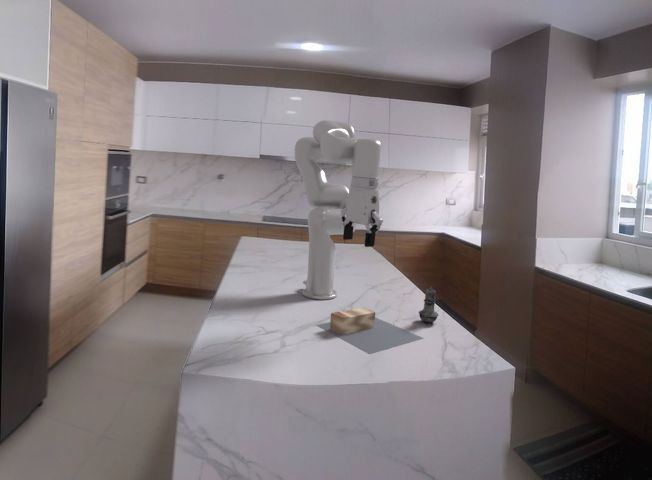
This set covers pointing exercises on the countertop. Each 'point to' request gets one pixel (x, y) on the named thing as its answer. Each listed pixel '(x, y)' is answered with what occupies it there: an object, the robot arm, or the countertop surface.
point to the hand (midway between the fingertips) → (358, 242)
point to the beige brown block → (352, 320)
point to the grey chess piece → (429, 307)
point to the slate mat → (376, 336)
